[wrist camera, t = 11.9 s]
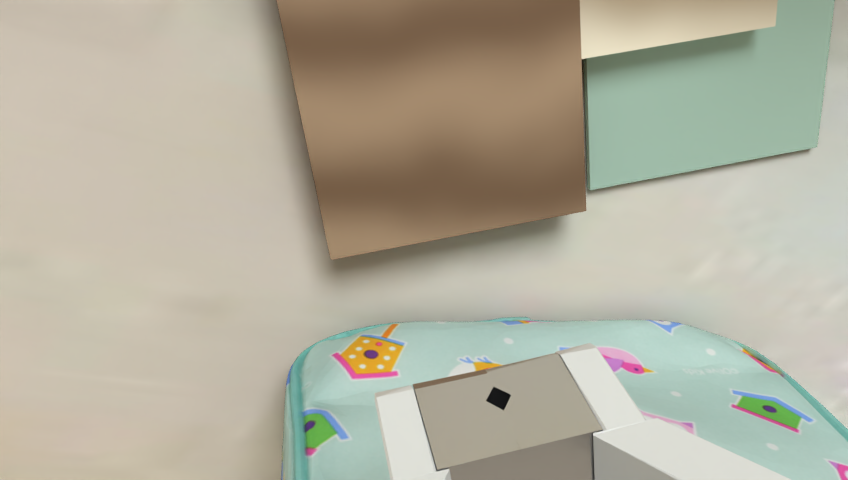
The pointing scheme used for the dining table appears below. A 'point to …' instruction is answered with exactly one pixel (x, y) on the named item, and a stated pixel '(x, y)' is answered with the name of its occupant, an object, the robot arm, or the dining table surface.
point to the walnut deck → (437, 115)
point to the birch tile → (665, 22)
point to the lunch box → (524, 339)
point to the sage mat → (708, 99)
